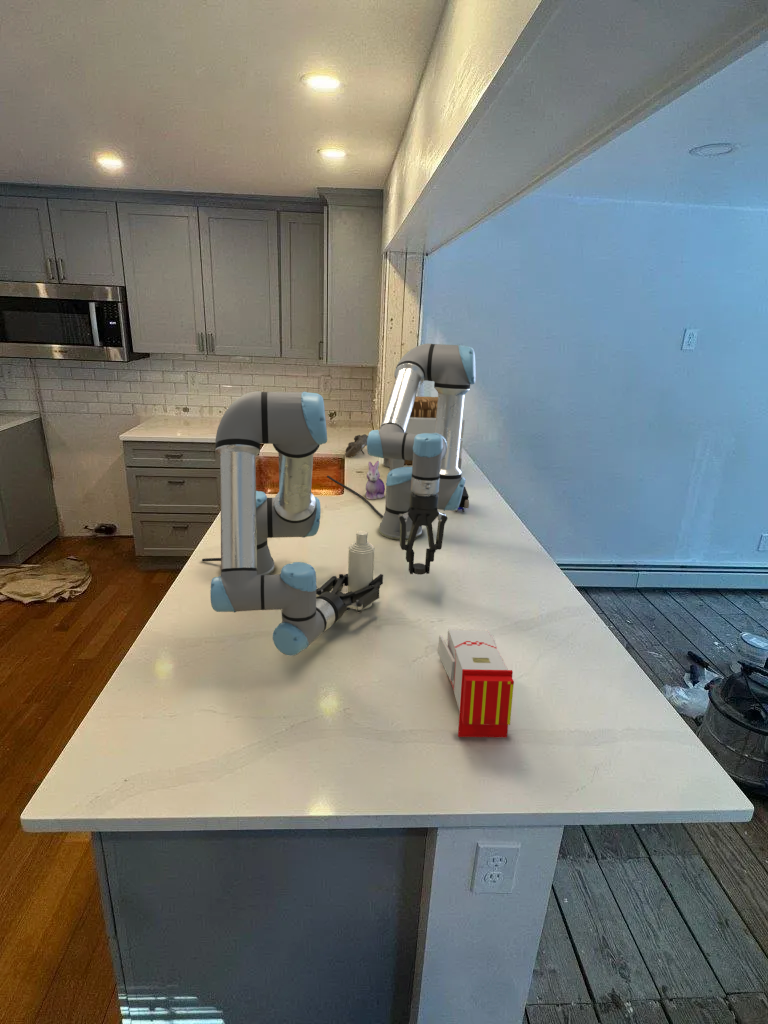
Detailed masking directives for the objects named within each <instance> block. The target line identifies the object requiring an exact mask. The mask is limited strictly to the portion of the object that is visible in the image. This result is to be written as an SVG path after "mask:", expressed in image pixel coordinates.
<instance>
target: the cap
mask: <svg viewBox="0 0 768 1024" xmlns="http://www.w3.org/2000/svg"><path fill="white" fill-rule="evenodd" d="M426 568H427V567H426V565H425V563H420V562H417V563H414V565H413V574H415V575H420V576H421V575H425V574H427V573H426Z"/></svg>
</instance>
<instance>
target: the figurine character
mask: <svg viewBox="0 0 768 1024" xmlns="http://www.w3.org/2000/svg"><path fill="white" fill-rule="evenodd" d="M469 498H470V496H469V494H468V491H467V488H466V486H464V490H463V494H462V498H461V501H460V505H459V507H458V509H457V510H455V512H456V513H458V510H461V511H462V513H465V509H469V506H470V500H469Z"/></svg>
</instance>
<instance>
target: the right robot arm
mask: <svg viewBox="0 0 768 1024" xmlns="http://www.w3.org/2000/svg"><path fill="white" fill-rule="evenodd" d="M476 365H477V364H476V353H475V350H474V348H473V347H471V346H468V345H461V344H443V343H442V344H441V343H439V344H438V343H423V344H419V345H417V346H415V347H413V348H411V349H410V350H409V351H407V352H406V353H405V354H404V355H403V356H402V357H401V358H400V360H399V361H398V363H397V364H396V367H395V370H394V374H393V375H394V383H393V386H392V389H391V393H390V395H389V398H388V402H387V405H386V407H385V410H384V414H383V417H382V420H381V423H380V426H379V429H372V430H370V431H369V432H368V434H367V436H368V439H367V446H366V451H367V454H368V455H369V456H370V457H373V458H381V459H384V458H390V459H402V460H410V461H413V464H412V466H404V467H401V468H396V469H393V470H391V471H390V470H389V472H388V473H387V475H386V482H385V504H384V505H385V507H384V508H385V509H384V513H383V514H382V513H381V512H379V511H378V510H377V508H375V506H374V505H373V504H372V503H371V502H370V501H369V499H367V498H365V496H363V495H361V494H360V493H358V492H357V491H355V490H354V489H352V488H350V487H349V486H347V485H345V484H343V483H342V482H340V481H338V480H336V479H335V478H333V477H331V476H330V475H327V476H326V478H328V479H329V480H331V481H332V482H334V483H335V484H336V485H339V486H341V487H342V488H344V489H346V490H348V491H349V492H351V493H353V494H354V495H356V496H357V497H359V498H360V499H362V500H363V501H364V502H365V503H366V504H367V505H369V507H370V508H371V509H372V510H373V511H374V513H376V515H378V516H379V517H380V518H381V522H379V526H378V533H379V534H380V535H381V536H382V537H385V538H387V539H389V540H395V541H399V547H400V549H401V551H405V561H406V563H408V572H409V574H410V575H413V574H414V573H413V565H414V564H415V563H414V562H415V551H414V549H413V547H414V544H415V541H416V539H418V538H420V537H421V536H422V535H423V526H424V527H425V528H426V535H427V542H428V548H426V549H425V561H424V562H425V563H424V565H426V567H427V568H426V573H425V574H427V575H430V571H431V563H434V561H435V553H436V552H437V551H438V550H439V551H440V550H442V548H443V540H444V533H445V524H446V523H447V520H448V516H447V515H446V513H445V511H451V512H452V511H453V512H454V511H455V510H457V511H458V507H459V505H460V501H461V498H462V494H463V490H464V487H465V484H466V478H465V477H464V476H462V475H463V474H462V473H463V472H462V469H461V470H460V469H459V468H458V459H459V449H460V439H462V438H461V428H462V419H463V418H464V417H463V416H464V415H463V414H464V408H465V407H464V406H465V405H464V404H465V396H466V394H467V393H468V392H469V391H470V390H471V386H472V385H475V384H476V379H477V378H476V375H477V373H476V372H477V371H476V370H477V367H476ZM424 382H433V387H434V389H435V391H436V392H437V397H438V402H437V414H436V426H435V433H431V434H429V433H423V434H411V433H406V429H407V426H408V422H409V419H410V415H411V412H412V408H413V405H414V401H415V398H416V397H417V394H418V391H419V388H420V387H421V386H422V384H424ZM439 510H442V511H444V512H443V513H441V512H439ZM455 512H456V511H455ZM436 519H437V521H438V522H437V528H436V529H437V530H436V538H435V539H434V532H433V529H434V528H433V523H434V521H435V520H436Z"/></svg>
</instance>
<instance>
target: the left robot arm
mask: <svg viewBox="0 0 768 1024" xmlns="http://www.w3.org/2000/svg"><path fill="white" fill-rule="evenodd" d="M326 419H327V418H326V409H325V400H324V397H323V396H322V395H321V394H319V393H317V392H307V391H261V390H260V391H259V390H257V391H251V392H250V391H249V392H247V393H245V394H243V395H241V396H239V397H238V398H237V399H235V400H234V401H233V402H232V403H231V404H230V405H229V406H228V408H227V409H226V410H225V412H224V414H223V415H222V417H221V419H220V421H219V424H218V426H217V430H216V435H215V440H214V441H215V453H216V454H217V456H219V457H220V459H219V461H220V464H219V465H220V468H219V470H220V474H219V475H220V476H219V477H220V557H211V558H210V557H209V558H207V557H206V558H202V559H201V561H202V562H220V575H218V576H215V577H212V579H211V582H210V591H209V593H210V606H211V608H212V610H214V611H215V612H216V613H238V612H251V611H277V610H281V622H280V623H278V625H277V626H276V627H275V628H274V630H273V632H272V642H273V644H274V646H275V648H276V649H277V650H278V651H279V652H280V653H281V654H284V655H285V656H288V657H289V656H290V657H291V656H296V655H298V654H299V653H301V652H302V651H304V650H305V649H307V648H308V647H309V645H311V644H312V643H313V642H315V640H317V639H318V638H319V637H321V635H322V634H324V633H325V632H327V630H328V629H329V628H331V627H332V626H333V625H334V624H336V623H337V622H338V621H340V619H342V617H343V616H344V615H345V613H346V612H348V611H351V610H356V613H362V612H363V610H364V609H363V608H365V607H366V606H368V605H369V604H371V603H372V604H373V602H375V601H377V600H378V599H380V589H381V586H382V585H383V583H384V574H382V573H380V574H379V575H377V576H376V577H375V578H373V581H371V582H370V583H369V586H368V587H365V588H362V589H360V590H357V591H355V592H352V591H350V592H348V591H347V592H342V590H343V588H344V587H348V573H345V574H343V573H340V574H339V575H338V577H337V576H336V575H332V576H331V577H329V579H328V580H327V581H325V582H324V584H322V585H321V586H320V587H317V574H316V573H317V572H316V570H315V568H314V566H313V565H311V564H309V563H307V562H302V561H294V562H292V563H287V564H285V565H283V566H282V568H281V570H280V572H279V573H280V574H273V573H274V571H275V561H274V558H273V556H272V554H271V551H270V547H269V545H268V539H273V538H275V539H278V538H279V539H280V538H303V539H304V538H307V537H314V536H316V535H317V534H318V532H319V529H320V524H321V511H322V509H321V501H320V499H319V498H318V497H317V496H315V495H314V494H313V492H312V483H313V467H314V454H315V453H316V452H317V451H318V450H319V448H320V446H321V445H324V444H326V443H327V442H328V431H327V422H326V421H327V420H326ZM261 444H263V445H268V444H269V445H272V446H273V448H274V449H275V451H276V452H277V453H278V492H277V493H276V494H275V497H268V496H267V494H266V492H264V491H261V490H257V477H256V475H257V474H256V470H257V468H256V457H257V456H259V454H260V453H261Z"/></svg>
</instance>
